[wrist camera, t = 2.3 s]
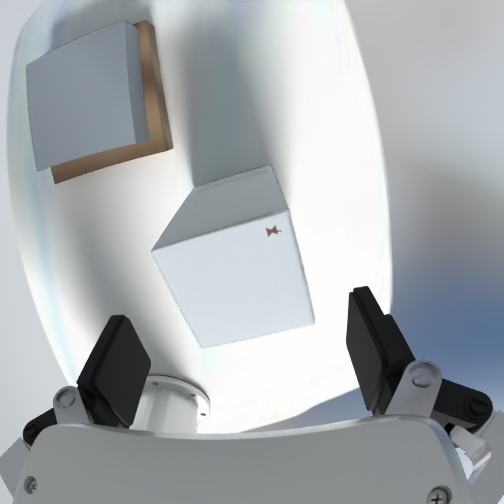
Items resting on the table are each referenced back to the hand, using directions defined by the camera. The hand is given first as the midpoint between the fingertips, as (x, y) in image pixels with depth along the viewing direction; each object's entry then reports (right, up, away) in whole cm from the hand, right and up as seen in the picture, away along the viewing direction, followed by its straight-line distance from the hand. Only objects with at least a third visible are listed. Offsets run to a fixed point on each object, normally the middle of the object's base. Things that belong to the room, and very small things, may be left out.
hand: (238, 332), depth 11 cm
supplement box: (0, +7, +15) cm, 16 cm away
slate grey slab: (-13, +16, +7) cm, 22 cm away
